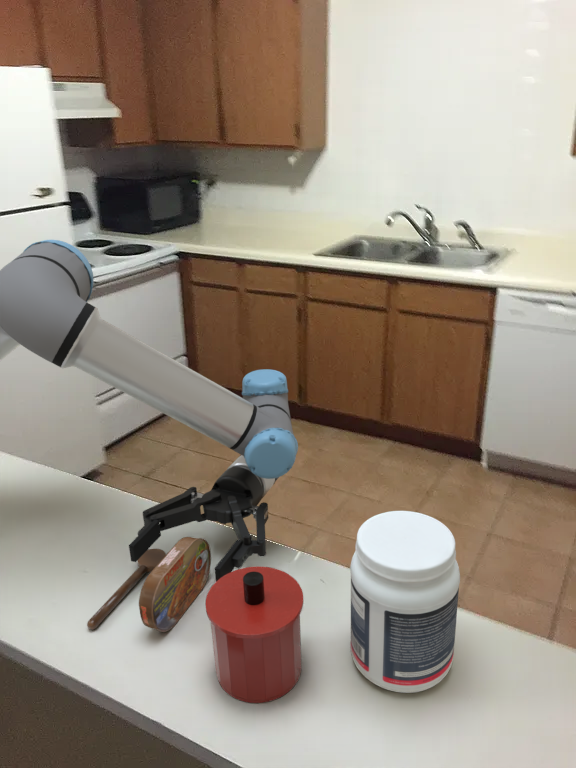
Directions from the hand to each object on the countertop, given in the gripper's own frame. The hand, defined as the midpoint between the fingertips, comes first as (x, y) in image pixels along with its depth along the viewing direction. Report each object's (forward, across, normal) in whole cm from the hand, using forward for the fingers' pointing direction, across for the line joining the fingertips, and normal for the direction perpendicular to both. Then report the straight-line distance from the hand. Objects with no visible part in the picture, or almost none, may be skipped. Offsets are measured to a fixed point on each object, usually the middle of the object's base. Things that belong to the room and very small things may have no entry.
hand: (173, 565), depth 91 cm
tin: (-1, 0, -8) cm, 8 cm away
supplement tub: (-3, -31, -8) cm, 32 cm away
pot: (+6, -15, -7) cm, 18 cm away
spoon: (-1, +9, -8) cm, 12 cm away
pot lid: (+6, -15, +3) cm, 16 cm away
